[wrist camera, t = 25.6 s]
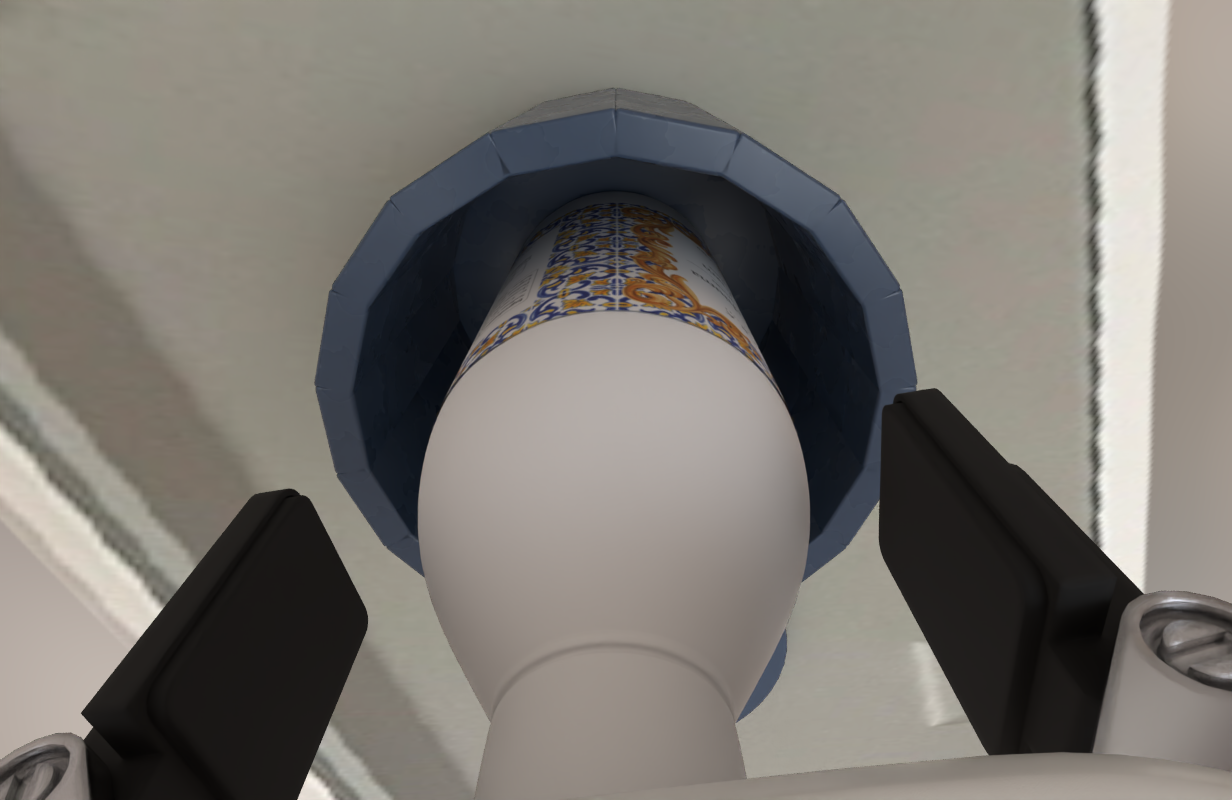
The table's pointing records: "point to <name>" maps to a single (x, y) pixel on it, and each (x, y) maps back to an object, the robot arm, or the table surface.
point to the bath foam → (613, 510)
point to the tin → (531, 191)
